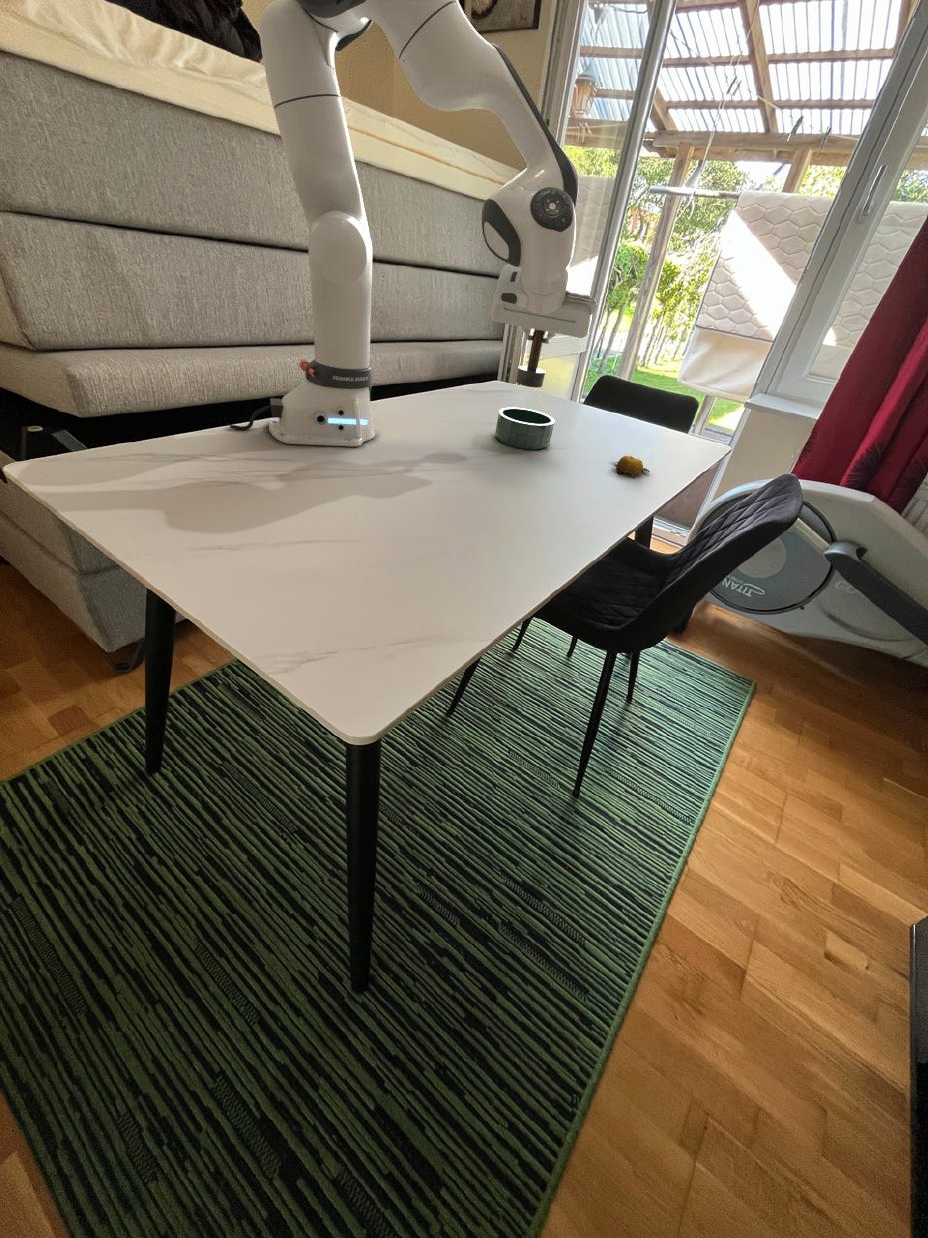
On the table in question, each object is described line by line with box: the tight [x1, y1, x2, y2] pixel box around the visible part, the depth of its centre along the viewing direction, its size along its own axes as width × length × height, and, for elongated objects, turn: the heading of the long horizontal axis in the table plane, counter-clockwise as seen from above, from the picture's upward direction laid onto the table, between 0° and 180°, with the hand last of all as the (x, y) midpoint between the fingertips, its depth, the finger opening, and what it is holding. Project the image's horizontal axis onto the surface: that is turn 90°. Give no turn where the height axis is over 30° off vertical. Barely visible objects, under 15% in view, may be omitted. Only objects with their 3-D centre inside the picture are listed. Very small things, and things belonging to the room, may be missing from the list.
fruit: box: [614, 455, 651, 477], centre depth 119 cm, size 8×8×4 cm
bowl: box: [494, 407, 555, 451], centre depth 127 cm, size 14×14×6 cm
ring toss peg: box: [515, 329, 546, 389], centre depth 110 cm, size 6×6×16 cm
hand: (538, 339), depth 110 cm, fingers closed on ring toss peg, 2 cm apart
